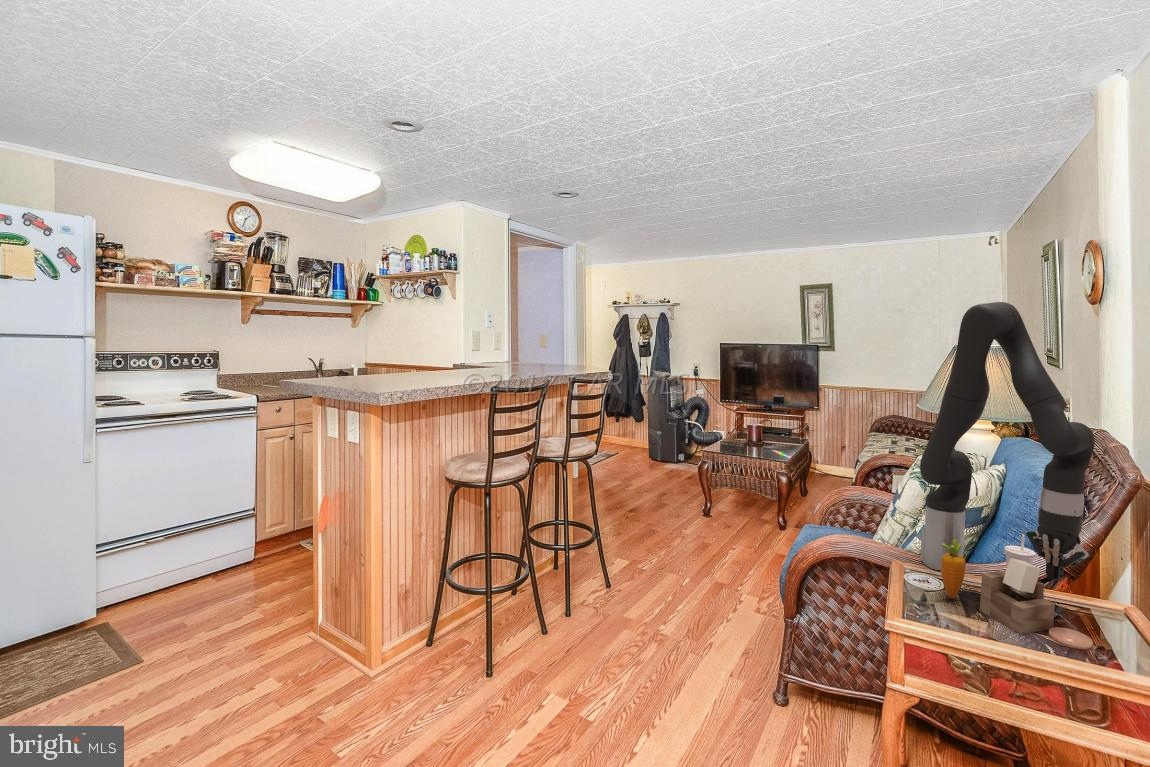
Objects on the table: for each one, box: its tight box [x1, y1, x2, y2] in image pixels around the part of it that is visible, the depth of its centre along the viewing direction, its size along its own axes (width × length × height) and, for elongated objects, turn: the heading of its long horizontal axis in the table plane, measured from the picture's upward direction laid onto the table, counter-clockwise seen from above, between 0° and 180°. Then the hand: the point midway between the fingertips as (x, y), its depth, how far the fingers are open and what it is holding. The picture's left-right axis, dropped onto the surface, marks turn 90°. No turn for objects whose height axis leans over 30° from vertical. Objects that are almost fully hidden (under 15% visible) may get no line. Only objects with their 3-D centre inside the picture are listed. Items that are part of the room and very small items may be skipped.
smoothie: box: [1003, 533, 1037, 567], centre depth 139 cm, size 6×6×14 cm
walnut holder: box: [979, 569, 1056, 635], centre depth 124 cm, size 10×10×10 cm
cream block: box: [1003, 558, 1042, 593], centre depth 123 cm, size 4×4×6 cm
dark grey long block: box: [1010, 587, 1067, 618], centre depth 125 cm, size 13×4×3 cm
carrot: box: [941, 539, 967, 600], centre depth 134 cm, size 5×5×15 cm
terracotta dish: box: [1048, 626, 1094, 650], centre depth 116 cm, size 7×7×1 cm
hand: (1053, 578), depth 126 cm, fingers closed
